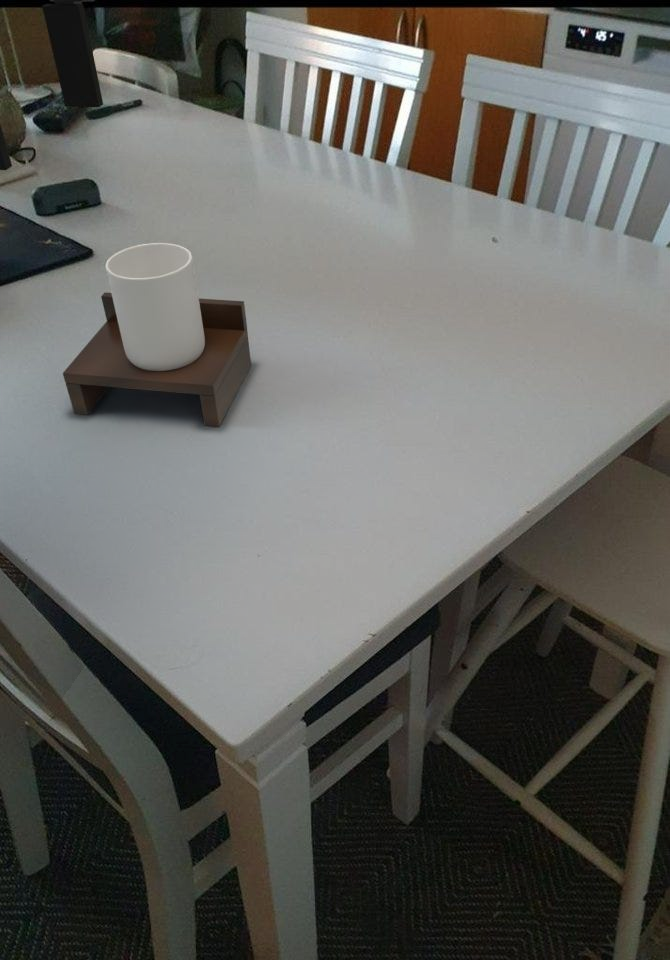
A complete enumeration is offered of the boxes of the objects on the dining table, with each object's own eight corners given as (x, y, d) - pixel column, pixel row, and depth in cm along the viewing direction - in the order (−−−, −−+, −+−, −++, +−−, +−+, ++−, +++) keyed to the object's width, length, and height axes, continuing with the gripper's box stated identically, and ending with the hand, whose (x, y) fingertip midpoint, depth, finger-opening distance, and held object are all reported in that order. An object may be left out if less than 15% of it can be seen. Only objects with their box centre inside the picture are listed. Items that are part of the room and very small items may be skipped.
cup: (150, 382, 80) (130, 287, 74) (96, 337, 87) (74, 247, 81) (221, 353, 84) (208, 260, 77) (163, 312, 91) (147, 225, 85)
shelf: (74, 413, 85) (54, 347, 80) (119, 355, 94) (104, 292, 89) (219, 427, 82) (208, 359, 77) (251, 365, 91) (244, 301, 86)
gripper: (-167, -339, 31) (-3, 204, 45) (100, -285, 50) (159, 86, 64) (-330, -325, 33) (-123, 199, 46) (-10, -278, 51) (71, 84, 65)
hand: (41, 134), depth 55 cm, fingers open, 13 cm apart
